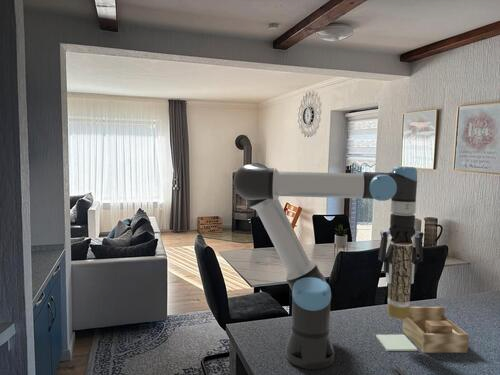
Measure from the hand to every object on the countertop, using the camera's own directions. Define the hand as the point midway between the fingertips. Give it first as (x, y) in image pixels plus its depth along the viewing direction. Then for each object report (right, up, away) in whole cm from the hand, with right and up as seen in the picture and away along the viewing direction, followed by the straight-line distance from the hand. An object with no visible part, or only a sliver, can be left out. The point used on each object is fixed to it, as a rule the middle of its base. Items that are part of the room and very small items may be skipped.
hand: (399, 282), depth 124 cm
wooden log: (0, -12, +1) cm, 12 cm away
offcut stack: (+13, -22, 0) cm, 25 cm away
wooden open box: (+13, -21, +4) cm, 25 cm away
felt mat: (0, -21, +2) cm, 21 cm away
